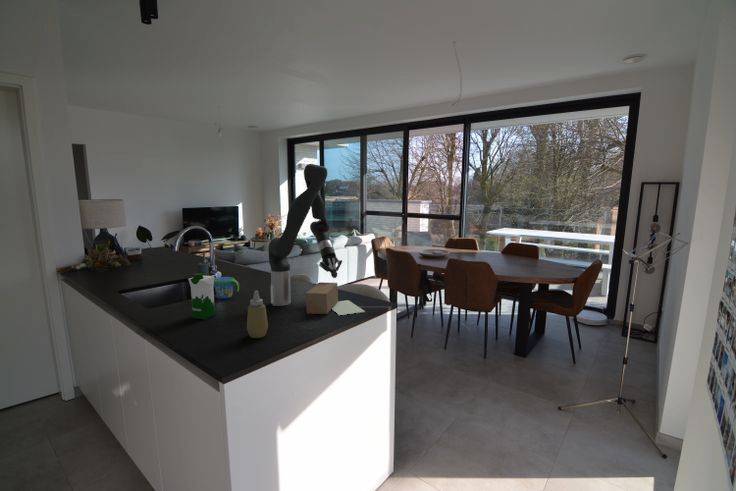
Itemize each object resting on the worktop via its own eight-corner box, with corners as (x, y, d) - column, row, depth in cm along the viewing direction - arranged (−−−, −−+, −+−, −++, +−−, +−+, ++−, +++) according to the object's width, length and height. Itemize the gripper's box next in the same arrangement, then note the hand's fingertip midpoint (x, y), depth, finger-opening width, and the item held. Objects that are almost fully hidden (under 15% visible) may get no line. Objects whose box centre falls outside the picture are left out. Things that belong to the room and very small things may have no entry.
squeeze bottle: (249, 332, 147) (247, 288, 144) (270, 331, 147) (268, 288, 145) (244, 340, 139) (242, 293, 136) (266, 339, 139) (264, 293, 137)
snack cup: (243, 295, 201) (242, 277, 199) (233, 300, 190) (233, 281, 189) (215, 294, 202) (214, 276, 201) (205, 299, 192) (204, 280, 190)
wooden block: (338, 301, 187) (327, 314, 168) (319, 301, 189) (306, 313, 170) (337, 282, 186) (326, 293, 166) (318, 282, 188) (305, 292, 168)
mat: (339, 315, 167) (339, 315, 167) (324, 304, 185) (324, 303, 185) (365, 312, 172) (365, 311, 172) (348, 300, 191) (348, 300, 191)
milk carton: (188, 318, 163) (185, 274, 160) (203, 312, 171) (201, 270, 168) (204, 320, 160) (201, 275, 157) (219, 314, 168) (216, 271, 166)
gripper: (316, 246, 191) (324, 274, 182) (340, 245, 197) (349, 271, 188) (313, 255, 197) (321, 282, 188) (336, 253, 203) (345, 279, 193)
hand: (335, 277), depth 188 cm, fingers closed
